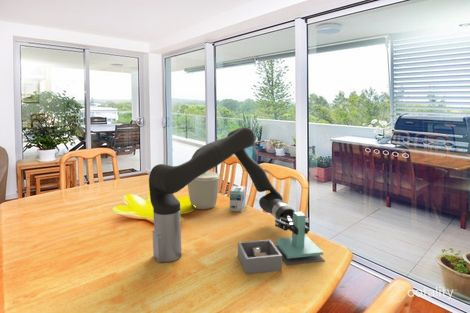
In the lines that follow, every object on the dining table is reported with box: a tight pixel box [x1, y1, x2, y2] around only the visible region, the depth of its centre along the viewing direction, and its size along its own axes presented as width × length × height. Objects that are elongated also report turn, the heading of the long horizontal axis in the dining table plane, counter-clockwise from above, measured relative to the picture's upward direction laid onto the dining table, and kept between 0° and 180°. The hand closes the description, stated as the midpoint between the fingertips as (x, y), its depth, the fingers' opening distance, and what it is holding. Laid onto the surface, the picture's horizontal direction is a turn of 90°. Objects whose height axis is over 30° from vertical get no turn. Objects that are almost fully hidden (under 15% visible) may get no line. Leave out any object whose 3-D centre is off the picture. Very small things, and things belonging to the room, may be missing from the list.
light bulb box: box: [229, 185, 247, 213], centre depth 160 cm, size 11×7×11 cm, turn 168°
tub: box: [237, 239, 283, 275], centre depth 104 cm, size 12×12×6 cm
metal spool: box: [252, 246, 261, 257], centre depth 107 cm, size 3×3×4 cm
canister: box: [187, 170, 221, 210], centre depth 161 cm, size 18×18×21 cm
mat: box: [275, 244, 326, 266], centre depth 112 cm, size 14×14×1 cm
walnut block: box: [254, 253, 267, 257], centre depth 102 cm, size 4×4×4 cm
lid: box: [274, 211, 324, 258], centre depth 110 cm, size 13×13×14 cm
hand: (302, 231), depth 107 cm, fingers closed on lid, 3 cm apart
